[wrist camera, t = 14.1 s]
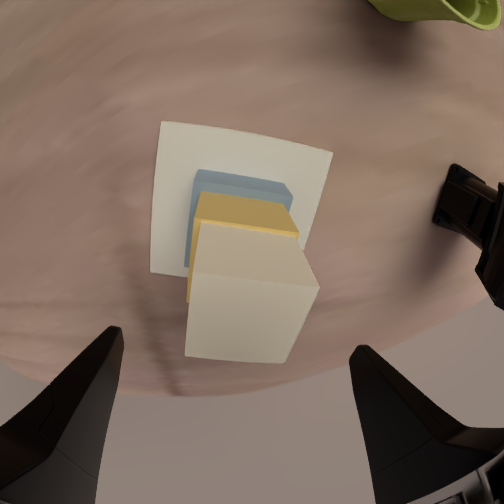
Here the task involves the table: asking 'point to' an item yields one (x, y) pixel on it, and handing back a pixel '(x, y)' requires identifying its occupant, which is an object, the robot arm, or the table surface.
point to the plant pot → (443, 11)
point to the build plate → (228, 161)
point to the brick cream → (247, 295)
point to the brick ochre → (238, 219)
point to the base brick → (233, 193)
